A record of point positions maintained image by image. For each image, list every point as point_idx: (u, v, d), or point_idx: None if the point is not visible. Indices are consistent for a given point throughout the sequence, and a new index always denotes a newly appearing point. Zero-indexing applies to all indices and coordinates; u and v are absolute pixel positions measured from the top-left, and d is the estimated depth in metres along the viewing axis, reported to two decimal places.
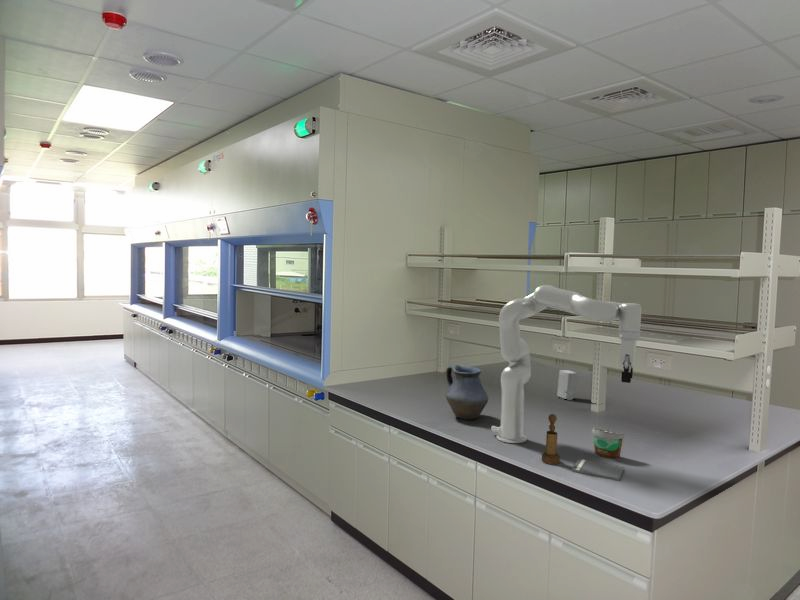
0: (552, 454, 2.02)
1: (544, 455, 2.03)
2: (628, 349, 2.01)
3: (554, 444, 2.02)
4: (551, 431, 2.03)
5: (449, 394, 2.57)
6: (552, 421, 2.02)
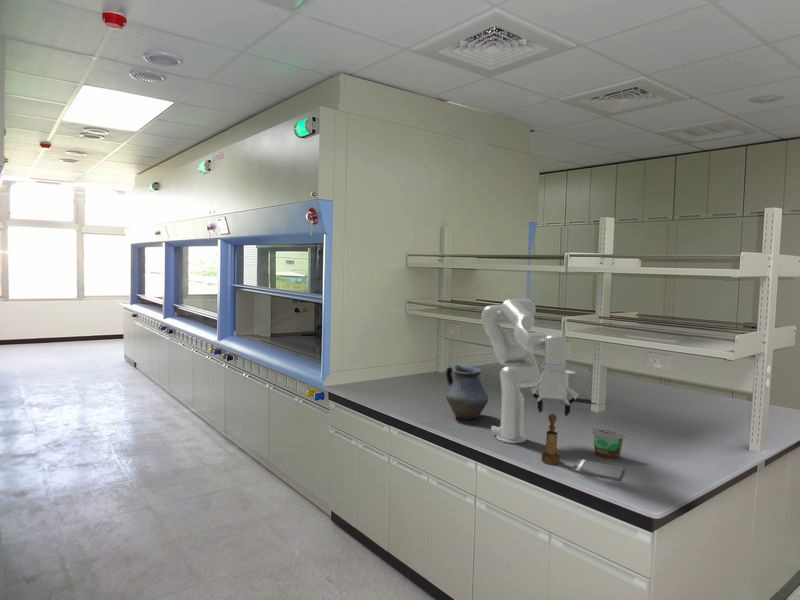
0: (552, 454, 2.02)
1: (544, 455, 2.03)
2: (567, 381, 2.00)
3: (554, 444, 2.02)
4: (551, 431, 2.03)
5: (449, 394, 2.57)
6: (552, 421, 2.02)
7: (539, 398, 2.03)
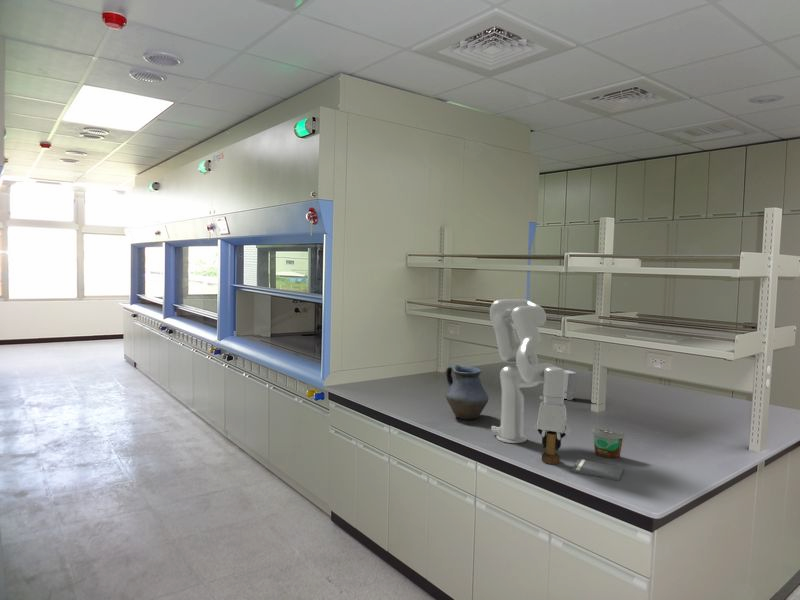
0: (552, 454, 2.02)
1: (544, 455, 2.03)
2: None
3: (554, 444, 2.02)
4: (551, 431, 2.03)
5: (449, 394, 2.57)
6: None
7: (544, 434, 2.03)
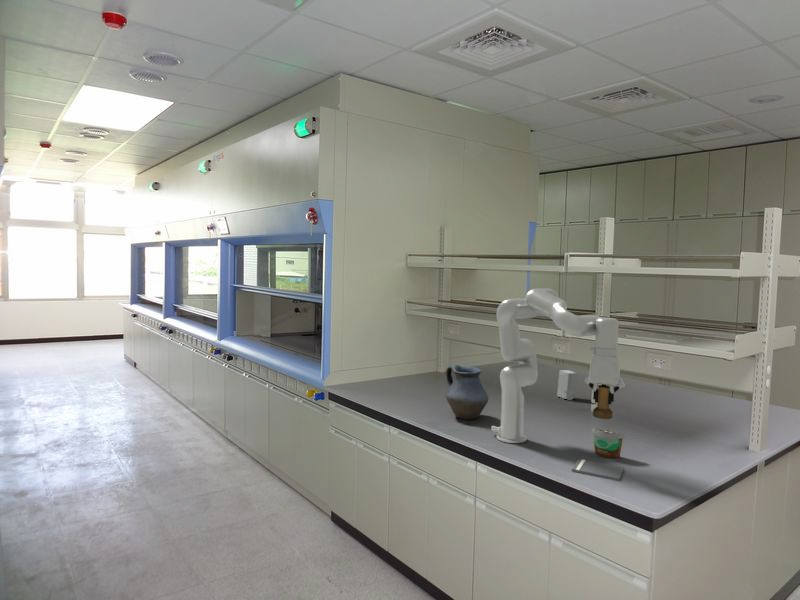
0: (605, 409, 1.92)
1: (596, 410, 1.93)
2: (619, 366, 1.91)
3: (607, 398, 1.92)
4: (603, 385, 1.93)
5: (449, 394, 2.57)
6: None
7: (595, 388, 1.94)
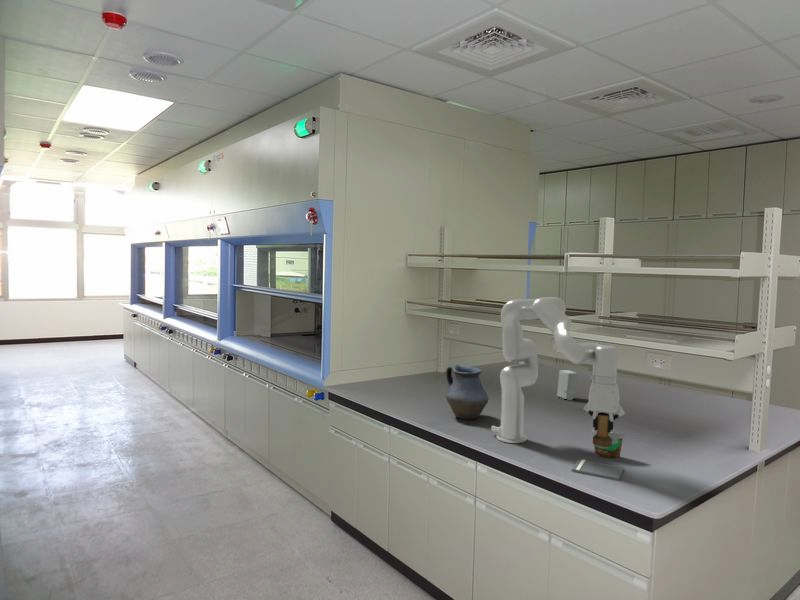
0: (604, 436, 1.92)
1: (596, 438, 1.93)
2: None
3: (606, 426, 1.92)
4: None
5: (449, 394, 2.57)
6: None
7: (595, 415, 1.94)
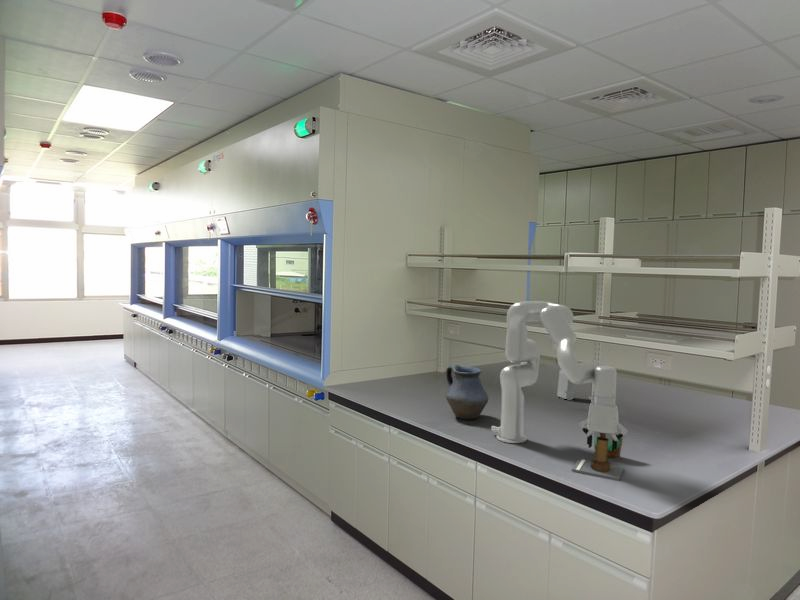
0: (603, 461, 1.93)
1: (594, 462, 1.94)
2: None
3: (605, 451, 1.93)
4: (602, 437, 1.94)
5: (449, 394, 2.57)
6: None
7: (589, 433, 1.95)
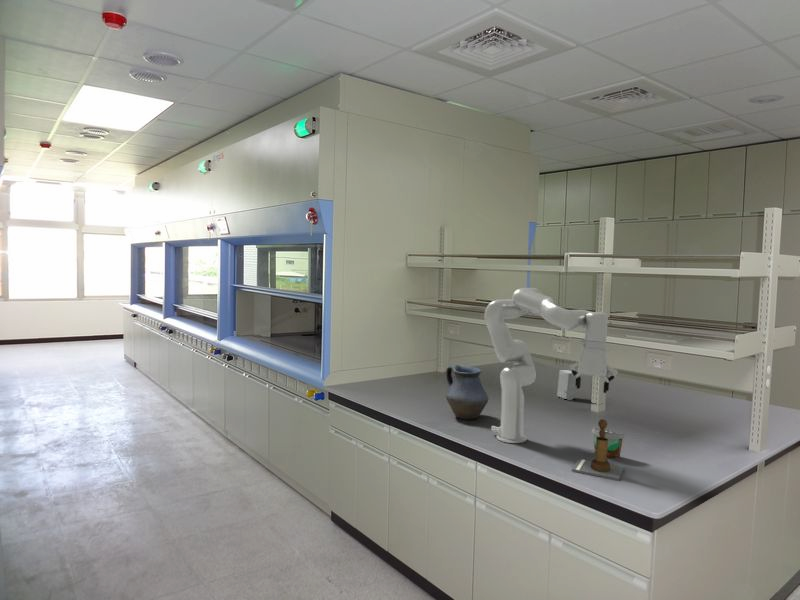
0: (602, 461, 1.93)
1: (594, 462, 1.94)
2: (607, 359, 1.99)
3: (605, 451, 1.93)
4: (601, 437, 1.94)
5: (449, 394, 2.57)
6: (603, 427, 1.93)
7: (577, 375, 2.04)
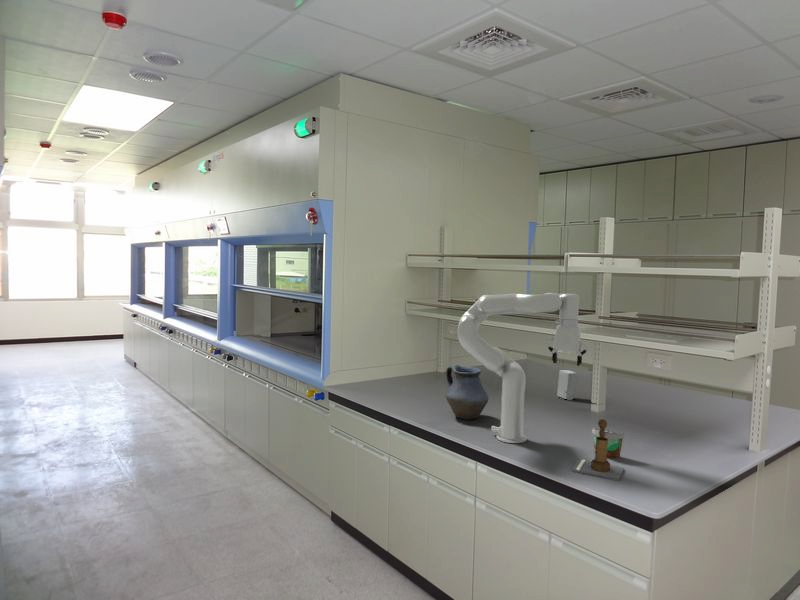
0: (602, 461, 1.93)
1: (594, 462, 1.94)
2: None
3: (605, 451, 1.93)
4: (601, 437, 1.94)
5: (449, 394, 2.57)
6: (603, 427, 1.93)
7: (554, 350, 2.26)
